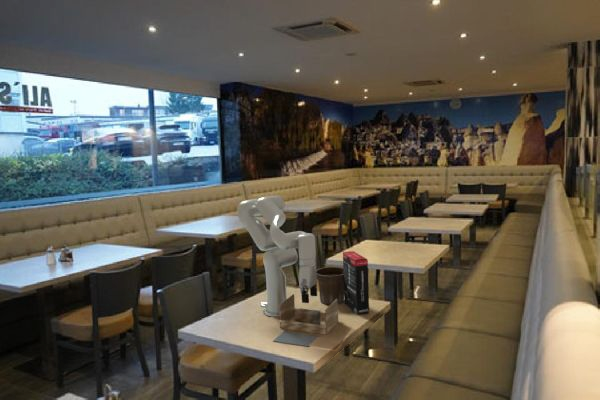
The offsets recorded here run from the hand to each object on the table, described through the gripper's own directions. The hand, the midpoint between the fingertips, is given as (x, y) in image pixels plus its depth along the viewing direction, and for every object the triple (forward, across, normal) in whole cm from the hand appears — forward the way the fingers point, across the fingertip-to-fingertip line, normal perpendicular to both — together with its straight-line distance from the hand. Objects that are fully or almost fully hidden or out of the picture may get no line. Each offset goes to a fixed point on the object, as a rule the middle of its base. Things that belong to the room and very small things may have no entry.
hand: (309, 299), depth 203 cm
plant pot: (+12, -34, -2) cm, 36 cm away
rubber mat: (+13, +15, -1) cm, 20 cm away
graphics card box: (+13, -26, +13) cm, 32 cm away
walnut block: (+12, 0, -2) cm, 12 cm away
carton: (+12, 0, -1) cm, 12 cm away
